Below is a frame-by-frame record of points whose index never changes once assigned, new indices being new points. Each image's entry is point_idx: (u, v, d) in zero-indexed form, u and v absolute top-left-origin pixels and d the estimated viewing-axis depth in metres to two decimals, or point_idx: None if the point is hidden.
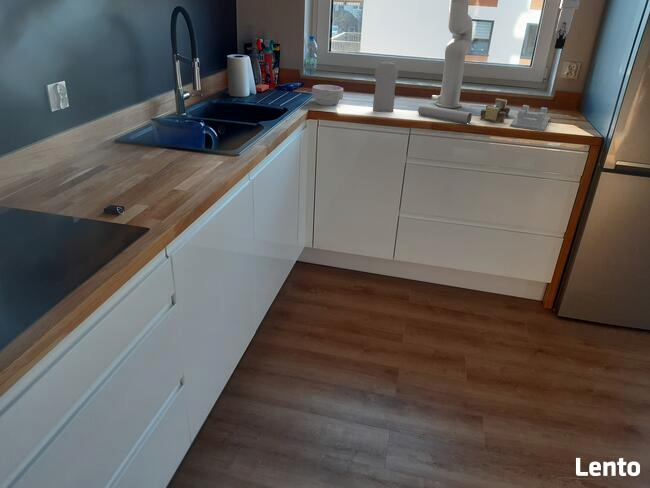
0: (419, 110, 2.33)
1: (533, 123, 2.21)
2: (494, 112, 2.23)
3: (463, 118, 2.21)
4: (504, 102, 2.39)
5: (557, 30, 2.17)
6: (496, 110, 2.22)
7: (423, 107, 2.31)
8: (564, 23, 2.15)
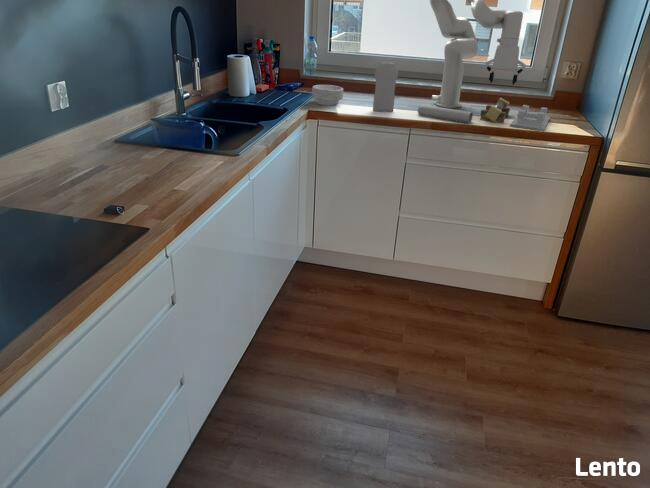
0: (419, 110, 2.32)
1: (533, 123, 2.21)
2: (496, 113, 2.23)
3: (465, 117, 2.22)
4: (506, 104, 2.39)
5: (516, 67, 2.21)
6: (498, 112, 2.22)
7: (423, 107, 2.31)
8: (518, 60, 2.21)
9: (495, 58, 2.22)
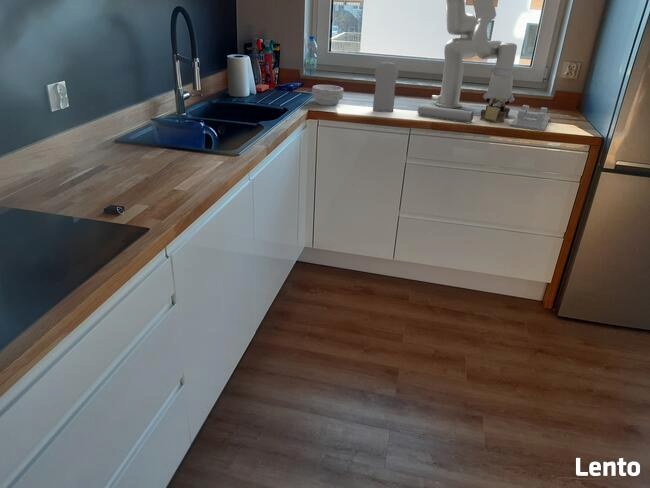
0: (419, 110, 2.32)
1: (533, 123, 2.21)
2: (494, 112, 2.23)
3: (466, 117, 2.23)
4: None
5: (509, 97, 2.27)
6: (497, 110, 2.22)
7: (423, 107, 2.31)
8: None
9: (489, 88, 2.28)
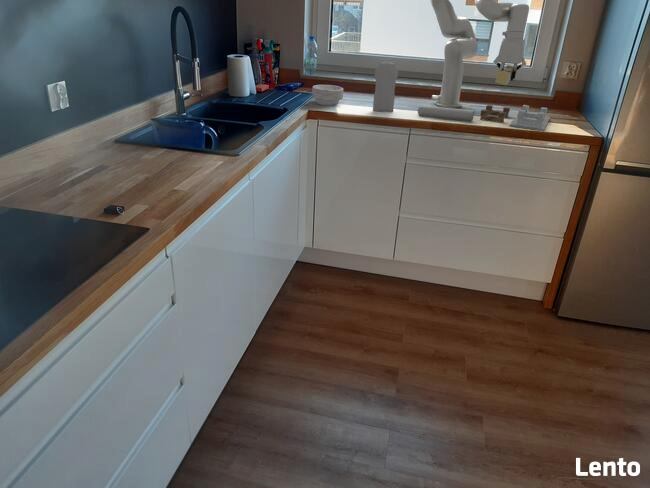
0: (420, 111, 2.31)
1: (533, 123, 2.21)
2: (506, 76, 2.15)
3: (468, 116, 2.24)
4: None
5: (521, 61, 2.19)
6: (508, 74, 2.14)
7: (424, 108, 2.30)
8: (523, 53, 2.19)
9: (500, 51, 2.21)
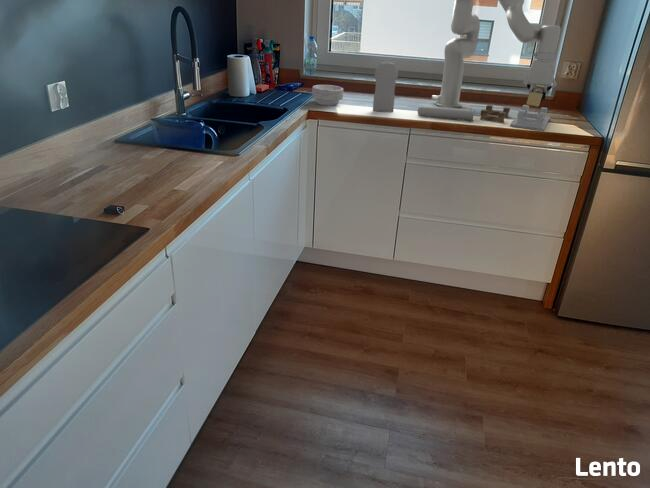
0: (420, 111, 2.31)
1: (533, 123, 2.21)
2: (537, 98, 2.13)
3: (469, 115, 2.25)
4: None
5: (551, 82, 2.17)
6: (540, 96, 2.12)
7: (424, 108, 2.30)
8: None
9: (530, 73, 2.18)
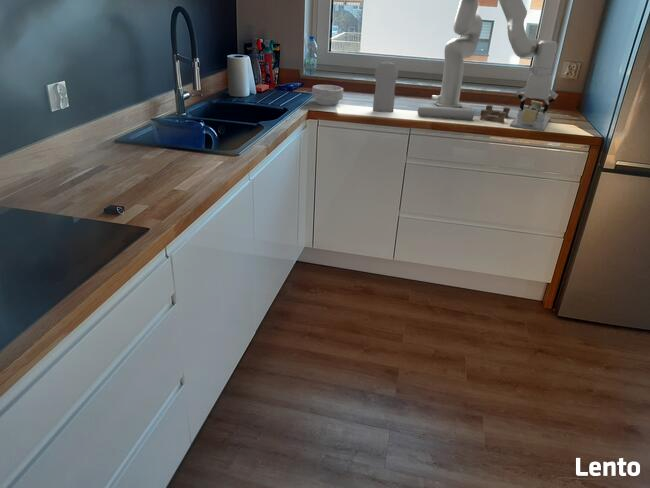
0: (420, 111, 2.30)
1: (533, 123, 2.21)
2: (532, 115, 2.16)
3: (469, 114, 2.27)
4: (540, 105, 2.32)
5: None
6: (535, 113, 2.16)
7: (424, 108, 2.30)
8: (550, 89, 2.20)
9: (527, 87, 2.21)
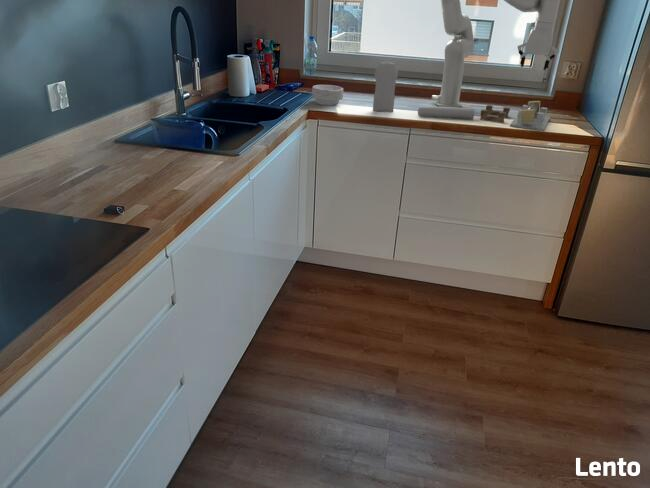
0: (421, 112, 2.30)
1: (533, 123, 2.21)
2: (530, 114, 2.16)
3: (470, 114, 2.28)
4: (538, 103, 2.33)
5: (548, 53, 2.18)
6: (532, 111, 2.16)
7: (425, 108, 2.29)
8: (551, 45, 2.18)
9: (528, 42, 2.20)
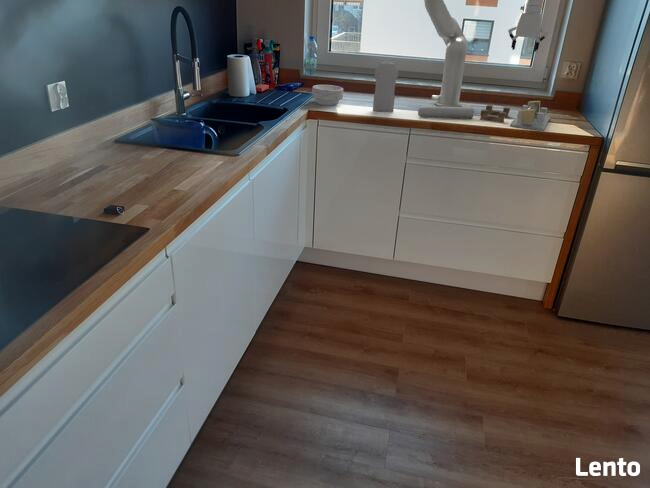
0: (422, 112, 2.29)
1: (533, 123, 2.21)
2: (530, 114, 2.16)
3: (469, 113, 2.29)
4: (538, 103, 2.33)
5: (538, 34, 2.28)
6: (532, 111, 2.16)
7: (425, 108, 2.29)
8: None
9: (518, 25, 2.29)
